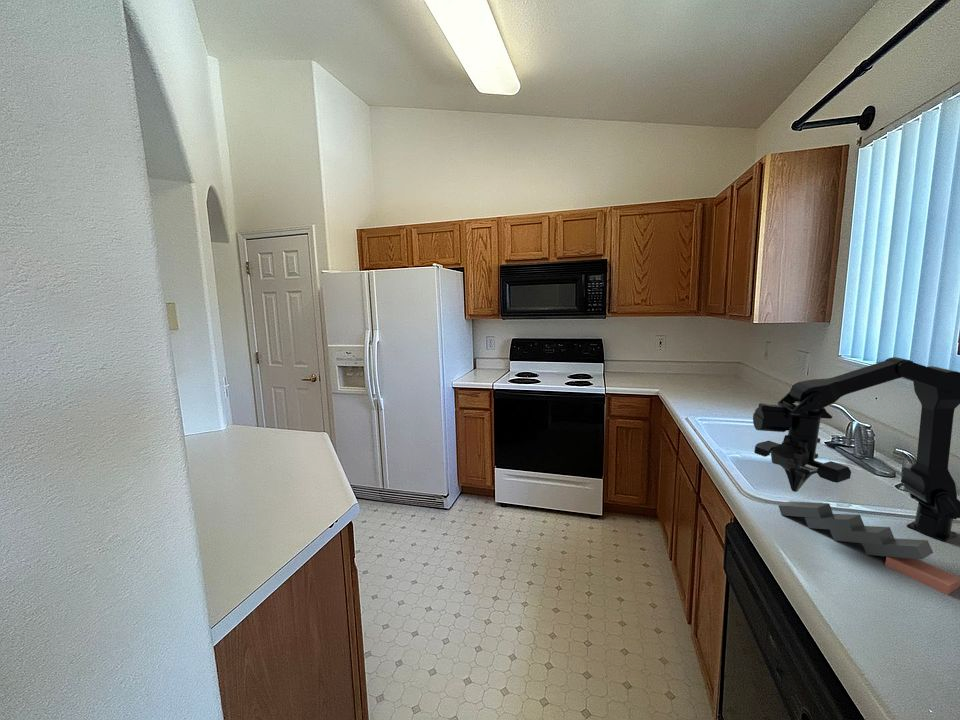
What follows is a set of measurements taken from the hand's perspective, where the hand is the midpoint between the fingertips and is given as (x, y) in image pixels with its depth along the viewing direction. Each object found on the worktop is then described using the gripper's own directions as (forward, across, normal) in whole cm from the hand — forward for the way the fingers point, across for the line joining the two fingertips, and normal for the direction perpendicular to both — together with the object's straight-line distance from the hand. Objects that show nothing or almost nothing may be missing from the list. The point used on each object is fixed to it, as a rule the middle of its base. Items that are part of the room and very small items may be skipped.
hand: (794, 491), depth 101 cm
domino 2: (+5, +5, 0) cm, 7 cm away
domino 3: (+6, +10, 0) cm, 11 cm away
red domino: (+6, +19, 0) cm, 20 cm away
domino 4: (+5, +16, 0) cm, 16 cm away
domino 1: (+5, -1, 0) cm, 6 cm away
